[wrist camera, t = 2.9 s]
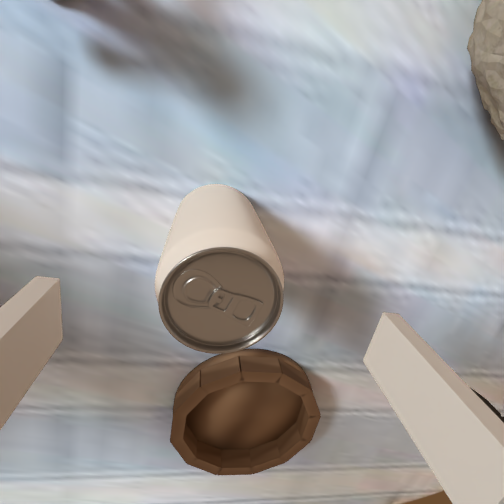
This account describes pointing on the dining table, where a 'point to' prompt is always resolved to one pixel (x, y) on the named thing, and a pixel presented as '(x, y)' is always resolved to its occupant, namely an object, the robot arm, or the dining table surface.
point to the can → (218, 273)
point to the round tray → (243, 412)
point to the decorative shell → (489, 59)
